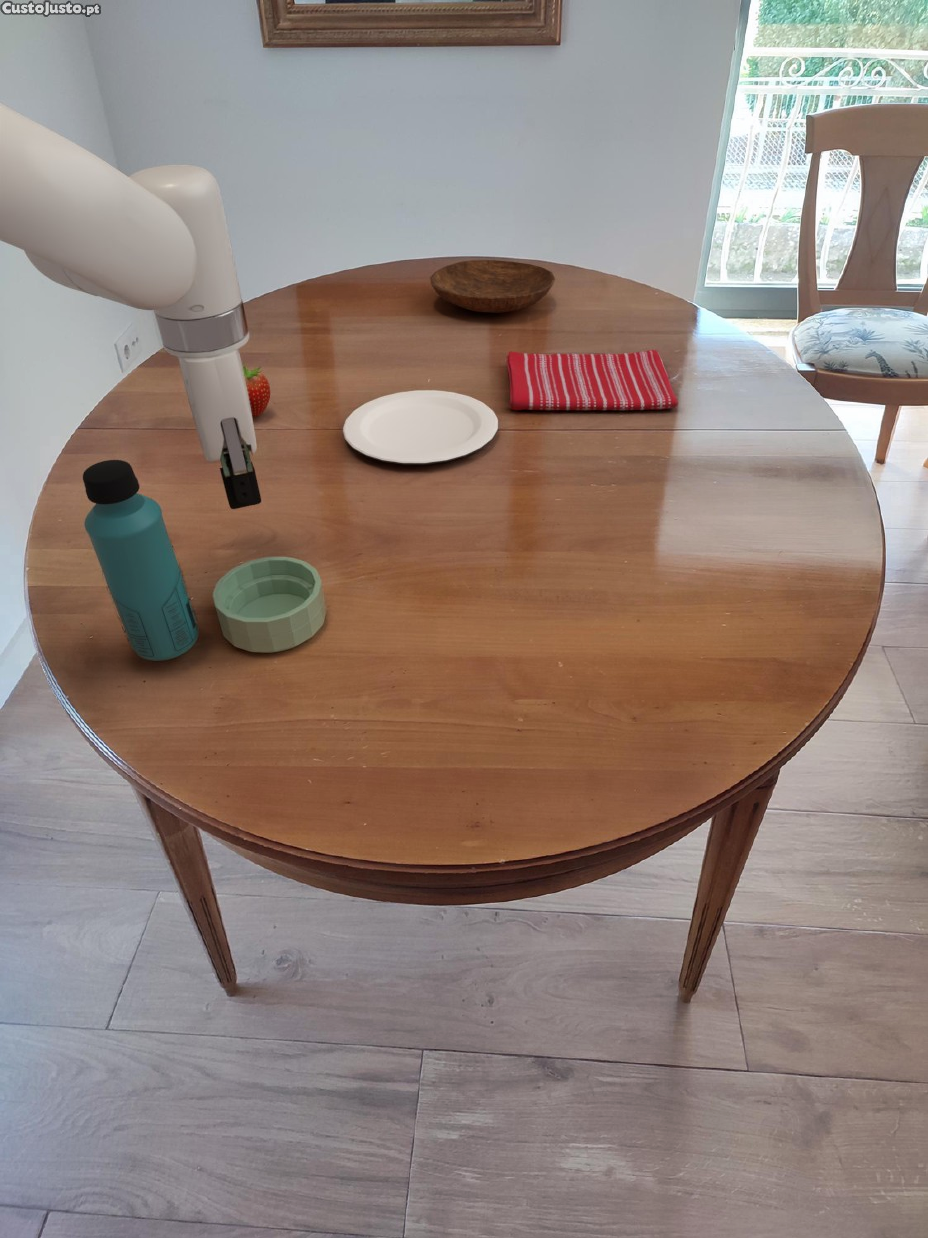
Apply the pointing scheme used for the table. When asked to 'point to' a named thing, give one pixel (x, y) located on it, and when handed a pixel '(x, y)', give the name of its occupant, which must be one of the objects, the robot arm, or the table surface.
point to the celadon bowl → (270, 604)
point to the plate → (420, 427)
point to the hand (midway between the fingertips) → (245, 502)
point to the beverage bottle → (138, 563)
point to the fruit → (257, 390)
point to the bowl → (492, 285)
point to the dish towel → (589, 381)
